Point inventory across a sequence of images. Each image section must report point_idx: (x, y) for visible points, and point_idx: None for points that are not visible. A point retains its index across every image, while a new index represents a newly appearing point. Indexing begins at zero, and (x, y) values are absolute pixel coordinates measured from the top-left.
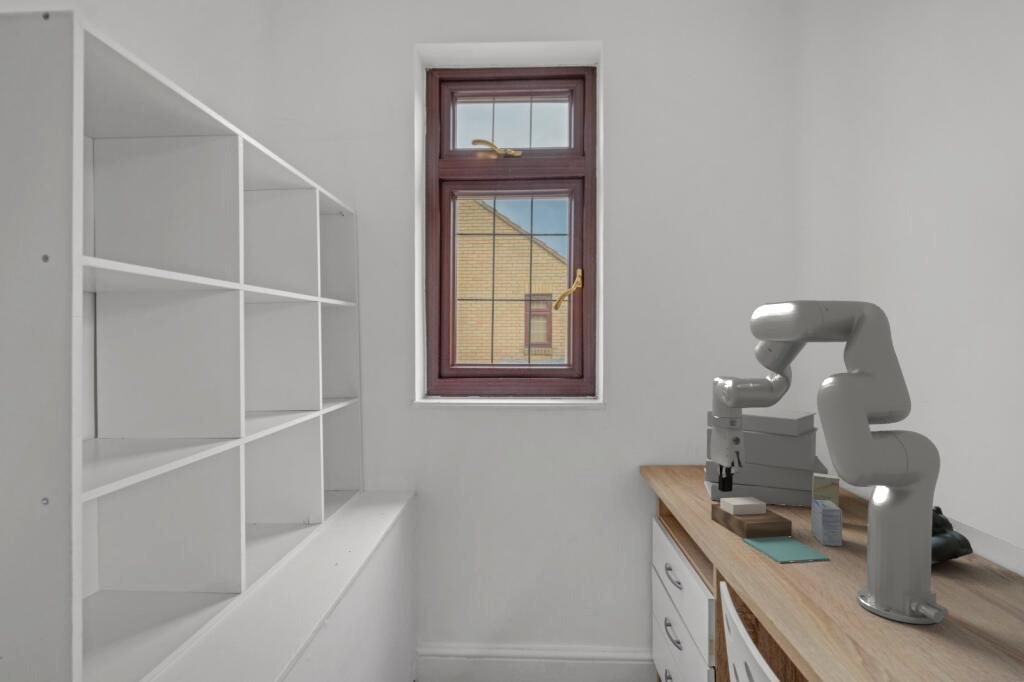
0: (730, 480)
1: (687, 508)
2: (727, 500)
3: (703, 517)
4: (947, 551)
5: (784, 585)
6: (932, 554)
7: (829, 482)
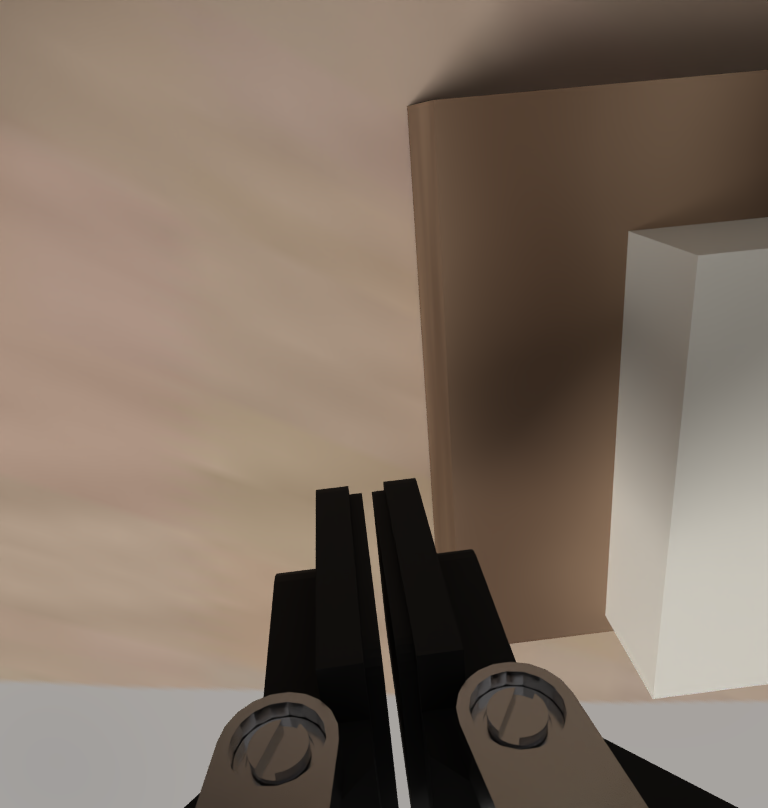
0: (509, 659)
1: (105, 635)
2: (764, 660)
3: (378, 591)
4: None
5: None
6: None
7: None
